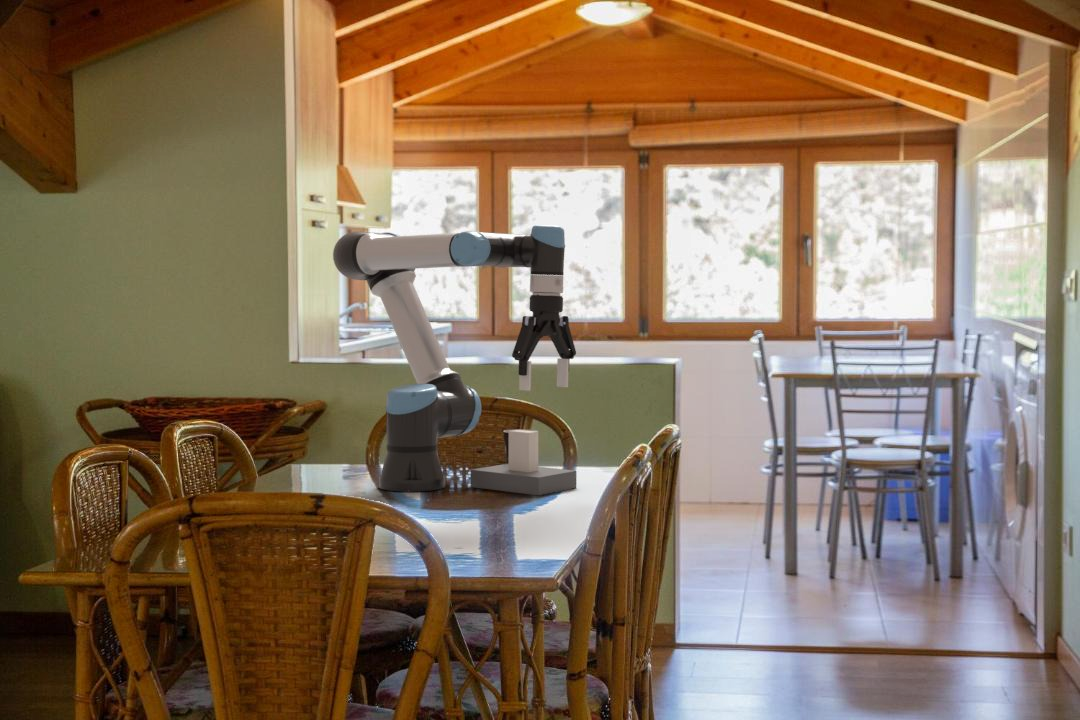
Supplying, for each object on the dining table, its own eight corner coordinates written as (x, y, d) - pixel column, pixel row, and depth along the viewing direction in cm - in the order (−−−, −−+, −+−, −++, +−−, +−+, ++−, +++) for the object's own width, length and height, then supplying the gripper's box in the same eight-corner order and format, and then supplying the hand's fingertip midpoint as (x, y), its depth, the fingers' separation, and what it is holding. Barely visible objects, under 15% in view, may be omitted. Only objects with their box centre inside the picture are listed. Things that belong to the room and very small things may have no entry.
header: (470, 486, 300) (470, 469, 300) (509, 480, 311) (509, 463, 311) (538, 495, 288) (538, 477, 287) (576, 488, 299) (576, 470, 298)
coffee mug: (512, 467, 333) (512, 428, 333) (543, 469, 329) (543, 430, 329) (491, 473, 323) (491, 433, 322) (522, 475, 319) (522, 434, 318)
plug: (508, 485, 300) (508, 431, 299) (518, 484, 302) (518, 429, 302) (528, 488, 296) (528, 432, 295) (538, 486, 299) (538, 431, 298)
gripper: (524, 294, 280) (521, 392, 281) (592, 295, 299) (590, 386, 301) (497, 293, 285) (495, 390, 286) (567, 294, 304) (564, 384, 306)
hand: (543, 388), depth 293 cm, fingers open, 13 cm apart
